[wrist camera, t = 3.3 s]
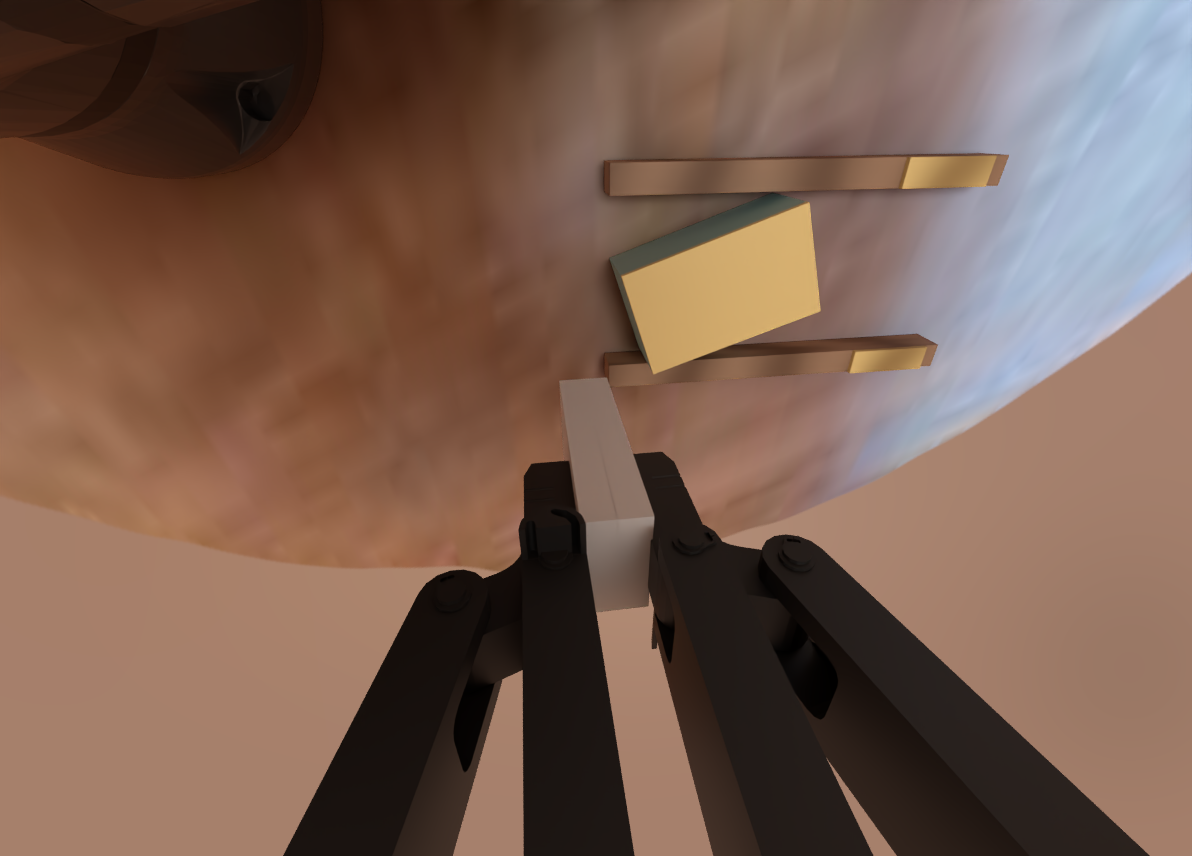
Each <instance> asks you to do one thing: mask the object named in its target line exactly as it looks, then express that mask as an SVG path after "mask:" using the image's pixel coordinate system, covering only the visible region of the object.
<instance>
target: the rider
mask: <svg viewBox="0 0 1192 856" xmlns="http://www.w3.org/2000/svg"><path fill="white" fill-rule="evenodd" d="M609 259H610V262H611V265H612V268H613V271H614V274H615V277H616V280H617V283H618V286H619V289H620V292H621V295H622V298H623V301H624V304H625V307H626V310H627V313H628V316H629V319H630V322H631V325H632V328H633V331H634V334H635V337H636V340H637V343H638V346H639V348H640V350H641V352H642V354H643V356H644V358H645V360H646V362H647V363H648V365H649V367H650V369H651V371H652V373H653V374H656V373H659V372H661V371H664V370H667V369H669V368H672V367H675V366H677V365H680V364H682V363H685V362H688V361H690V360H693V359H696V358H698V357H701V356H704V355H706V354H709V353H711V352H714V351H717V350H719V349H722V348H725V347H727V346H730V345H733V344H735V343H738V342H740V341H743V340H746V339H748V338H751V337H754V336H756V335H759V334H762V333H764V332H767V331H769V330H772V329H775V328H777V327H780V326H783V325H785V324H788V323H791V322H793V321H796V320H798V319H801V318H804V317H806V316H809V315H812V314H814V313H817V312H820V301H819V291H818V282H817V272H816V262H815V253H814V243H813V233H812V224H811V214H810V204H809V202H806V201H802V200H799V199H795V198H791V197H787V196H783V195H780V194H776V193H770V194H768V195H765V196H763V197H760V198H758V199H755V200H753V201H750V202H748V203H745V204H743V205H740V206H738V207H735V208H733V209H730V210H728V211H726V212H723V213H721V214H718V215H716V216H713V217H711V218H708V219H706V220H703V221H701V222H698V223H696V224H693V225H691V226H688V227H686V228H683V229H681V230H678V231H676V232H673V233H671V234H668V235H666V236H663V237H661V238H658V239H656V240H653V241H651V242H648V243H646V244H643V245H641V246H638V247H636V248H633V249H631V250H628V251H626V252H623V253H621V254H618V255H616V256H613V257H611V258H609Z"/></svg>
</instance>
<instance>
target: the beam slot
mask: <svg viewBox="0 0 1192 856" xmlns="http://www.w3.org/2000/svg"><path fill="white" fill-rule="evenodd" d="M1008 157H1009V155H1001V154H984V153H968V154H917V155H865V156H813V157H761V158H709V159H658V160H606V161H604V192H606V193H607V194H608V195H609V196H627V195H664V194H701V193H738V192H775V191H813V190H850V189H887V188H900V189H912V188H949V187H986V186H998V183H999V181H1000V178H1001V175H1002V173H1003V170H1004V167H1005V165H1006V162H1007V159H1008ZM937 346H938V345H937V344H936V343H934V342H932V341H930V340H928V339H926V338H924V337H922V336H920V335H918V334H910V335H893V336H877V337H860V338H844V339H827V340H811V341H794V342H778V343H761V344H745V345H730V346H727V347H725V348H722V349H719V350H717V351H714V352H711V353H709V354H706V355H704V356H701V357H698V358H696V359H693V360H690V361H688V362H685V363H682V364H680V365H677V366H675V367H672V368H669V369H667V370H664V371H661V372H659V373H656V374H653V373H652V371H651V369H650V367H649V365H648V363H647V362H646V360H645V358H644V356H643V354H642V352H641V351H629V352H613V353H605V377H607V379H608V382H609V385H610V387H624V386H639V385H653V384H668V383H683V382H697V381H712V380H727V379H741V378H756V377H771V376H785V375H800V374H815V373H829V372H844V371H847V372H849V373H860V372H874V371H889V370H904V369H918V368H920V366H930V365H931V362H932V360H933V357H934V354H935V352H936V349H937Z"/></svg>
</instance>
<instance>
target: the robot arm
mask: <svg viewBox="0 0 1192 856" xmlns="http://www.w3.org/2000/svg"><path fill="white" fill-rule="evenodd" d="M322 44H323V23H322V10H321V2H320V0H0V138H7V137H19V138H22V139H25V140H28V141H31V142H33V143H36V144H39V145H42V146H45V147H48V148H50V149H53V150H56V151H59V152H62V153H64V154H67V155H70V156H73V157H76V158H79V159H81V160H84V161H87V162H90V163H93V164H96V165H98V166H102V167H105V168H108V169H112V170H115V171H120V172H124V173H128V174H133V175H140V176H146V177H155V178H167V179H183V178H195V177H202V176H209V175H215V174H222V173H227V172H231V171H236V170H239V169H242V168H245V167H247V166H250V165H252V164H254V163H256V162H258V161H260V160H262V159H263V158H265V157H267V156H268V155H270V154H271V153H272V152H274V151H275V150H276V149H277V148H279V147H280V146H281V145H282V144H283V143H284V142H285V141H286V140H287V139H288V138H289V137H290V136H291V134H292V133H293V132H294V131H295V129H296V128H297V127H298V125H299V123H300V122H301V120H302V119H303V117H304V115H305V113H306V111H307V109H308V107H309V105H310V102H311V100H312V97H313V95H314V91H315V88H316V85H317V81H318V76H319V71H320V65H321V58H322ZM559 385H560V403H561V422H562V440H563V455H564V461H559V462H547V463H535V464H531V466H530V467H529V469H528V470H527V472H526V474H525V475H524V518H523V519H522V520H521V523H520V526H519V539H520V547H521V555H520V557H519V558H518V559H517V560H516V562H515V563H514V564H512V565H511V566H510V567H508V568H507V569H505V570H503V571H501V572H499V573H497V574H494V575H492V576H489V577H486V578H484V579H483V578H482V577H481V576H479V575H478V574H476V573H475V572H471V571H467V570H453V571H448V572H446V573H443V574H440V575H438V576H436V577H435V578H433V579H432V580H431V581H429V582H428V583H426V584H425V586H424V587H423V588H422V590H421V591H420V592H419V594H418V596H417V597H416V599H415V601H414V603H413V605H412V607H411V609H410V611H409V613H408V615H407V617H406V619H405V621H404V623H403V625H402V626H401V629H400V630H399V633H398V634H397V636H396V638H395V640H394V642H393V644H392V646H391V648H390V650H389V652H388V654H387V656H386V658H385V660H384V661H383V663H382V665H381V667H380V669H379V671H378V673H377V675H376V677H375V679H374V681H373V683H372V685H371V687H370V689H369V690H368V692H367V694H366V697H365V698H364V700H363V702H362V704H361V706H360V708H359V710H358V712H357V714H356V716H355V718H354V720H353V721H352V723H351V725H350V727H349V729H348V731H347V733H346V735H345V737H344V739H343V741H342V743H341V745H340V747H339V749H338V750H337V752H336V754H335V756H334V758H333V760H332V762H331V764H330V766H329V768H328V770H327V772H326V774H325V776H324V778H323V780H322V782H321V783H320V785H319V787H318V789H317V791H316V793H315V795H314V797H313V799H312V801H311V803H310V805H309V807H308V809H307V811H306V812H305V815H304V817H303V818H302V820H301V822H300V824H299V826H298V828H297V830H296V832H295V834H294V836H293V838H292V840H291V842H290V844H289V845H288V847H287V849H286V851H285V853H284V855H283V856H453V853H454V849H455V846H456V842H457V839H458V834H459V831H460V828H461V824H462V821H463V817H464V814H465V810H466V807H467V803H468V800H469V796H470V793H471V789H472V786H473V782H474V778H475V775H476V772H477V768H478V764H479V760H480V757H481V754H482V750H483V747H484V743H485V740H486V736H487V733H488V729H489V726H490V722H491V719H492V715H493V712H494V708H495V705H496V701H497V697H498V693H499V690H500V687H501V683H502V679H504V678H506V677H508V676H510V675H513V674H515V673H517V672H519V671H521V670H523V795H524V796H523V800H524V801H523V803H524V805H523V808H524V856H634V851H633V843H632V838H631V831H630V824H629V818H628V812H627V805H626V799H625V793H624V787H623V780H622V773H621V767H620V761H619V755H618V748H617V742H616V736H615V729H614V723H613V716H612V711H611V704H610V698H609V691H608V685H607V678H606V672H605V666H604V659H603V653H602V647H601V640H600V634H599V628H598V621H597V615H596V612H603V611H611V610H620V609H629V608H637V607H646V606H648V604H649V592H650V596H651V599H652V603H653V607H654V616H653V628H652V649H656V648H657V642H658V646H659V650H660V654H661V658H662V661H663V665H664V669H665V673H666V677H667V680H668V684H669V688H670V692H671V696H672V700H673V703H674V707H675V711H676V715H677V719H678V722H679V726H680V730H681V734H682V737H683V742H684V745H685V749H686V753H687V757H688V761H689V764H690V768H691V772H692V776H693V780H694V784H695V787H696V791H697V795H698V799H699V802H700V806H701V810H702V814H703V818H704V821H705V826H706V829H707V833H708V837H709V841H710V845H711V849H712V852H713V856H873V854H872V852H871V850H870V848H869V846H868V844H867V842H866V839H865V837H864V835H863V833H862V831H861V830H860V827H859V825H858V823H857V821H856V819H855V817H854V815H853V813H852V811H851V809H850V806H849V805H848V802H847V800H846V798H845V796H844V794H843V792H842V790H841V788H840V786H839V784H838V781H837V779H836V777H835V775H834V773H833V771H832V769H831V767H830V765H829V763H828V761H827V759H828V760H829V762H830V763H831V765H832V766H833V767H834V769H835V770H836V771H837V773H838V774H839V776H840V777H841V779H842V780H843V781H844V783H845V784H846V786H847V787H848V788H849V790H850V791H851V792H852V794H853V795H854V797H855V798H856V799H857V801H858V802H859V804H860V805H861V806H862V808H863V809H864V811H865V812H866V813H867V815H868V816H869V817H870V819H871V820H872V821H873V823H874V824H875V826H876V827H877V829H878V830H879V831H880V833H881V834H882V835H883V837H884V838H885V840H886V841H887V843H888V844H889V845H890V847H891V848H892V849H893V851H894V852H895V853H896V855H897V856H1149V855H1148V854H1147V853H1146V852H1145V851H1144V850H1143V849H1142V848H1141V847H1140V846H1139V845H1138V844H1137V843H1136V842H1135V841H1133V840H1132V839H1131V838H1130V837H1129V836H1128V835H1127V834H1126V833H1125V832H1124V831H1123V830H1122V829H1121V828H1120V827H1118V826H1117V825H1116V824H1115V823H1114V822H1113V821H1112V820H1111V819H1110V818H1109V817H1108V816H1107V815H1106V814H1105V813H1104V812H1102V811H1101V810H1100V809H1099V808H1098V807H1097V806H1096V805H1095V804H1094V803H1093V802H1092V801H1091V800H1090V799H1089V798H1087V797H1086V796H1085V795H1084V794H1083V793H1082V792H1081V791H1080V790H1079V789H1078V788H1077V787H1076V786H1075V785H1074V784H1073V783H1071V782H1070V781H1069V780H1068V779H1067V778H1066V777H1065V776H1064V775H1063V774H1062V773H1061V772H1060V771H1059V770H1058V769H1057V768H1055V767H1054V766H1053V765H1052V764H1051V763H1050V762H1049V761H1048V760H1047V759H1046V758H1045V757H1044V756H1042V755H1041V754H1040V753H1039V752H1038V751H1037V750H1036V749H1035V748H1034V747H1033V746H1032V745H1031V744H1030V743H1029V742H1028V741H1027V740H1026V739H1024V738H1023V737H1022V736H1021V735H1020V734H1019V733H1018V732H1017V731H1016V730H1015V729H1014V728H1013V727H1012V726H1011V725H1010V724H1008V723H1007V722H1006V721H1005V720H1004V719H1003V718H1002V717H1001V716H1000V715H999V714H998V713H996V711H995V710H994V709H992V708H991V707H990V706H989V705H988V704H987V703H986V702H985V701H984V700H983V699H982V698H981V697H980V696H979V695H977V694H976V693H975V692H974V691H973V690H972V689H971V688H970V687H969V686H968V685H967V684H966V683H965V682H964V681H963V680H961V679H960V678H959V677H958V676H957V675H956V674H955V673H954V672H953V671H952V670H951V669H950V668H949V667H948V666H946V665H945V664H944V663H943V662H942V661H941V660H940V659H939V658H938V657H937V656H936V655H935V654H934V653H933V652H932V651H930V650H929V649H928V648H927V647H926V646H925V645H924V644H923V643H922V642H921V641H920V640H918V638H916V636H914V635H913V634H912V633H911V632H910V631H909V630H908V629H907V628H906V627H905V626H904V625H903V624H902V623H901V622H899V621H898V620H897V619H896V618H895V617H894V616H893V615H892V614H891V613H890V612H889V611H888V610H887V609H886V608H885V607H883V606H882V605H881V604H880V603H879V602H878V601H877V600H876V599H875V598H874V597H873V596H872V595H871V594H870V593H869V592H867V591H866V590H865V589H864V588H863V587H862V586H861V585H860V584H859V583H858V582H857V581H856V580H855V579H854V578H853V577H851V576H850V575H849V574H848V573H847V572H846V571H845V570H844V569H843V568H842V567H841V566H840V565H839V564H838V563H836V562H835V561H834V560H833V559H832V558H831V557H830V556H829V555H828V554H827V553H826V552H825V551H824V550H823V549H821V548H820V547H819V546H817V545H816V544H814V543H813V542H812V541H809V540H806V539H804V538H802V537H799V536H793V535H779V536H774V537H772V538H770V539H769V540H767V541H766V542H765V544H764V546H763V547H762V550H759V549H751V548H744V547H739V546H734V545H730V544H727V543H725V542H722V541H721V539H720V538H719V536H718V535H717V534H716V533H715V531H713V530H712V529H710V528H708V527H707V526H705V525H703V524H702V522H701V520H700V517H699V515H698V513H697V511H696V509H695V506H694V504H693V502H692V500H691V498H690V496H689V493H688V491H687V489H686V487H685V486H684V482H683V480H682V478H681V477H680V474H679V472H678V469H677V467H676V465H675V463H674V461H672V460H671V459H670V458H669V457H667V456H666V455H665V454H664V453H663V452H653V453H640V454H633V452H632V449H631V446H630V444H629V441H628V438H627V435H626V432H625V429H624V426H623V423H622V420H621V417H620V414H619V412H618V409H617V406H616V403H615V400H614V397H613V394H612V391H611V388H610V385H609V382H608V379H607V377H606V378H591V379H575V380H560V381H559ZM826 758H827V759H826Z"/></svg>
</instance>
